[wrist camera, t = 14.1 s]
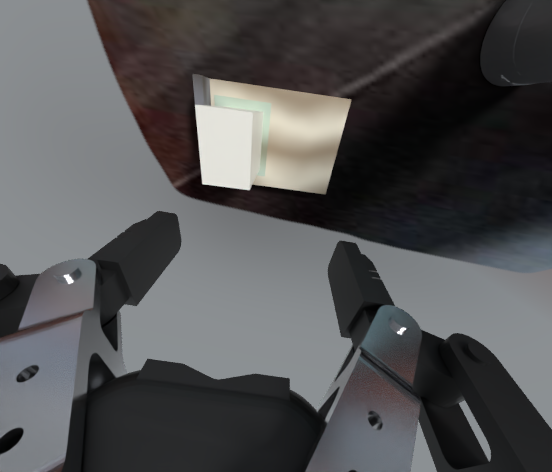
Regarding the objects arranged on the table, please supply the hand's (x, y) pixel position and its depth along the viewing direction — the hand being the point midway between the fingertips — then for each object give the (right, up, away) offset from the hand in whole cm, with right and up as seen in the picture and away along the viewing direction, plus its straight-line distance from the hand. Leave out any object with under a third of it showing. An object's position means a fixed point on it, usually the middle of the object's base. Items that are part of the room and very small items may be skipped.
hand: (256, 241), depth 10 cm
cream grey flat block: (0, +14, +18) cm, 22 cm away
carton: (-3, +13, +16) cm, 21 cm away
